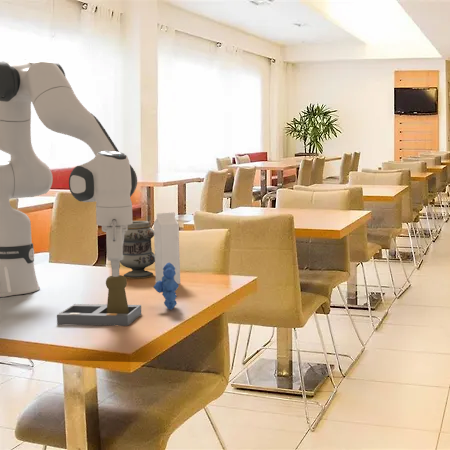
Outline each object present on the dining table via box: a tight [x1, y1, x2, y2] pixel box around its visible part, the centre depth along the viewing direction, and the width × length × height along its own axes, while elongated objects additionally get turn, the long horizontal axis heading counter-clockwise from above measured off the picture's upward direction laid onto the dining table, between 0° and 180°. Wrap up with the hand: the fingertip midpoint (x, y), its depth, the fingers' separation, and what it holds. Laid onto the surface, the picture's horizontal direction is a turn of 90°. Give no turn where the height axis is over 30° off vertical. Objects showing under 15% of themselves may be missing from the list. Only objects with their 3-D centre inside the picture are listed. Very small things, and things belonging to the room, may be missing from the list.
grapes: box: [153, 263, 180, 310], centre depth 199 cm, size 12×7×12 cm, turn 5°
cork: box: [105, 274, 129, 314], centre depth 188 cm, size 6×6×11 cm
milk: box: [153, 212, 181, 285], centre depth 233 cm, size 6×6×22 cm
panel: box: [56, 303, 143, 327], centre depth 189 cm, size 18×12×3 cm, turn 81°
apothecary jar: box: [120, 220, 155, 280], centre depth 247 cm, size 12×12×18 cm
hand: (116, 272), depth 187 cm, fingers open, 8 cm apart
